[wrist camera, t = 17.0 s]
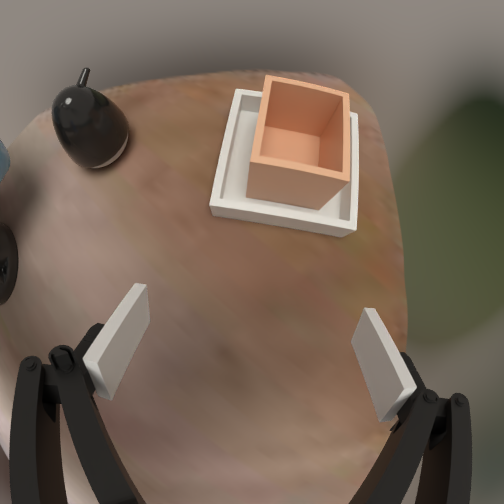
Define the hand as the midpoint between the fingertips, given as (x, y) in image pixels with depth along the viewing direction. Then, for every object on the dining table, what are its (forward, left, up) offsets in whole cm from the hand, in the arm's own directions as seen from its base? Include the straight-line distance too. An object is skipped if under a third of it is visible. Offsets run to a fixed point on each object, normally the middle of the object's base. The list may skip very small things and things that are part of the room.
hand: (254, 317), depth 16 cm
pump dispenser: (-31, -4, -20) cm, 38 cm away
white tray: (-11, +16, -20) cm, 28 cm away
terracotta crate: (-11, +16, -19) cm, 27 cm away
